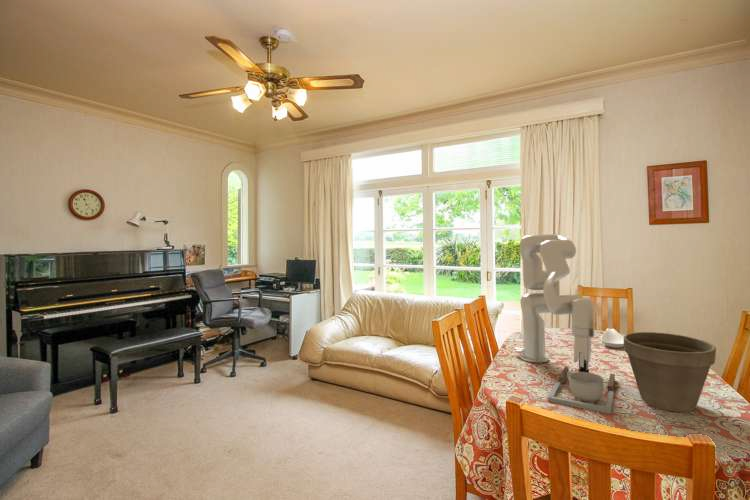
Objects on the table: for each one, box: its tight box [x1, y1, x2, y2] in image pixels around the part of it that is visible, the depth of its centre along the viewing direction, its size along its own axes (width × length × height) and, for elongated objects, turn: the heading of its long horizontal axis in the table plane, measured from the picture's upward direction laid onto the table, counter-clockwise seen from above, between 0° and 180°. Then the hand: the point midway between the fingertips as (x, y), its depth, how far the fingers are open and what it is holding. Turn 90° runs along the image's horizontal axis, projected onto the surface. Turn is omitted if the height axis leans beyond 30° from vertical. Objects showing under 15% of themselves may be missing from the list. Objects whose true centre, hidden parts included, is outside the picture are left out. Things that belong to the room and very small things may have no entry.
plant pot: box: [623, 331, 717, 413], centre depth 127 cm, size 25×25×22 cm
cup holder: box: [558, 366, 616, 393], centre depth 148 cm, size 18×15×2 cm
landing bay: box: [547, 381, 615, 415], centre depth 133 cm, size 19×17×2 cm
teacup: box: [566, 370, 604, 403], centre depth 134 cm, size 14×11×8 cm
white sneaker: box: [600, 327, 624, 349], centre depth 200 cm, size 24×12×7 cm, turn 155°
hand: (583, 379), depth 140 cm, fingers closed
